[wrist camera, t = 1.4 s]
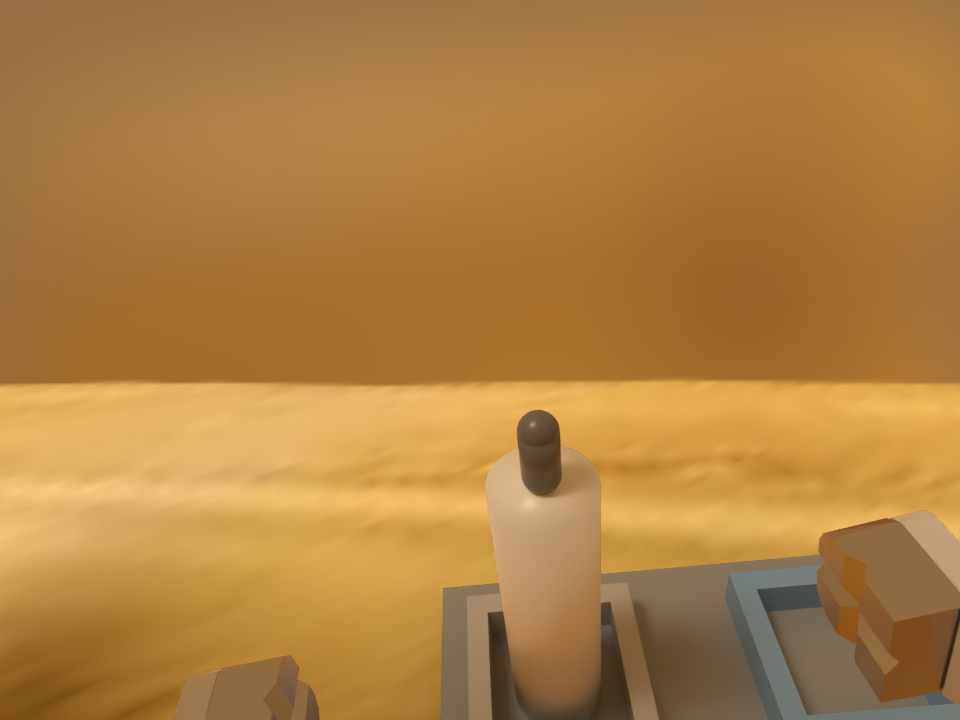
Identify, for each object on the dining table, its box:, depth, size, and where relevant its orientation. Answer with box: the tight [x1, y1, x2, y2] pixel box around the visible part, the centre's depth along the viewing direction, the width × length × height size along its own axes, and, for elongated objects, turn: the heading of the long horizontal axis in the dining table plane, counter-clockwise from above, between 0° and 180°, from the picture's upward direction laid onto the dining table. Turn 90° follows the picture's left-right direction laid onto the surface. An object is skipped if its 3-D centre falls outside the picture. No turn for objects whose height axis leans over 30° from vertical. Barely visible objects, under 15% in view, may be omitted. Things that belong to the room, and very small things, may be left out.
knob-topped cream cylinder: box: [485, 410, 601, 720], centre depth 27 cm, size 4×4×17 cm
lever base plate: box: [441, 555, 960, 720], centre depth 32 cm, size 24×12×3 cm, turn 92°
